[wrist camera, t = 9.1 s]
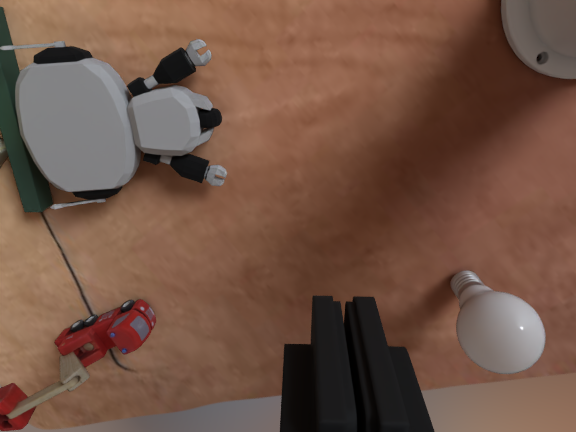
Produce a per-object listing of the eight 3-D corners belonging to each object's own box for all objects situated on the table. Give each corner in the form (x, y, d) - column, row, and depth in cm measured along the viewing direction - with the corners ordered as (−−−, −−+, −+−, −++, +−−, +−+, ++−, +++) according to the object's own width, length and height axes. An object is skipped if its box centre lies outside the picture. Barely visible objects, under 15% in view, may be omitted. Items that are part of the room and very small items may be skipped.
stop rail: (3, 7, 31) (-15, 5, 29) (53, 203, 37) (41, 212, 35) (-17, 7, 31) (-36, 5, 29) (37, 203, 37) (24, 212, 35)
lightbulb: (431, 309, 42) (475, 397, 32) (426, 256, 39) (473, 333, 29) (495, 299, 41) (561, 385, 31) (494, 244, 38) (566, 319, 28)
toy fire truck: (162, 318, 42) (128, 392, 33) (55, 358, 45) (-4, 438, 36) (145, 293, 41) (105, 364, 32) (35, 336, 43) (-30, 413, 35)
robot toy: (214, 31, 32) (20, 45, 32) (207, 30, 28) (-17, 46, 27) (233, 179, 37) (65, 193, 36) (229, 197, 33) (40, 213, 32)
